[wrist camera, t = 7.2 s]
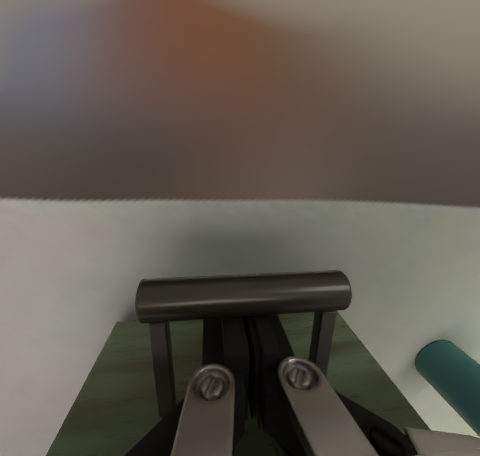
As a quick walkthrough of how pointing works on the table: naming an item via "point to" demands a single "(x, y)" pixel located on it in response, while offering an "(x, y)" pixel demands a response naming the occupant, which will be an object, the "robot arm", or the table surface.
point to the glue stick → (453, 378)
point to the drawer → (190, 356)
